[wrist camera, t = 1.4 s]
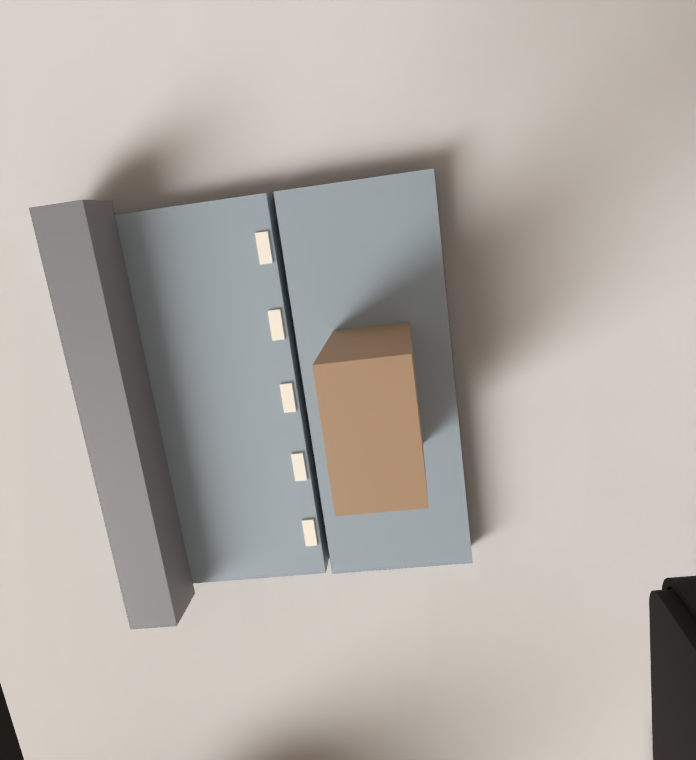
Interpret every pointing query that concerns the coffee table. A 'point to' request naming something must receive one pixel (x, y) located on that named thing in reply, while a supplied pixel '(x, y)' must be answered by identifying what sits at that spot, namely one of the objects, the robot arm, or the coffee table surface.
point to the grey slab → (377, 369)
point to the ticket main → (186, 393)
